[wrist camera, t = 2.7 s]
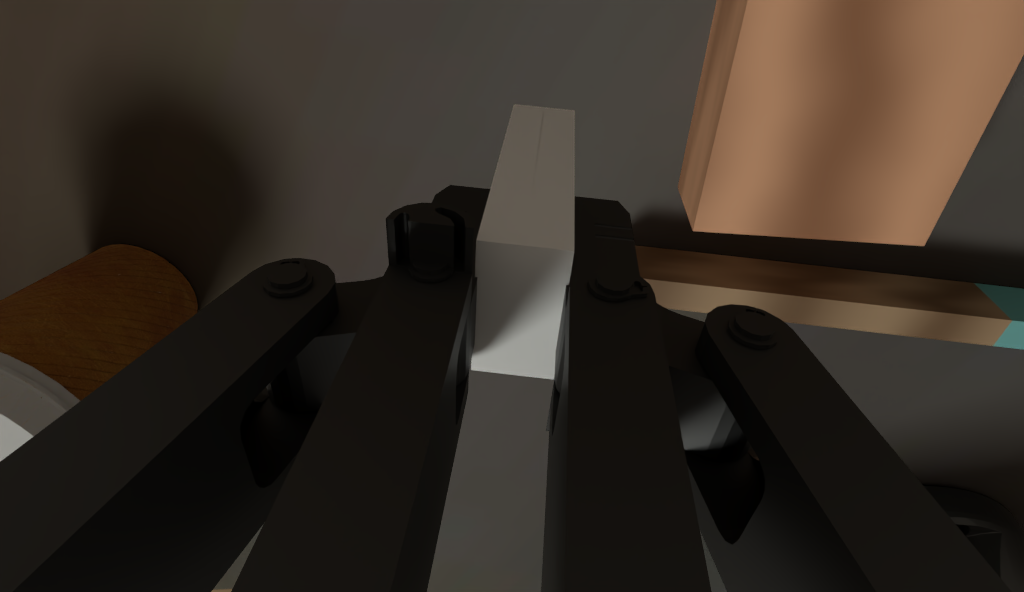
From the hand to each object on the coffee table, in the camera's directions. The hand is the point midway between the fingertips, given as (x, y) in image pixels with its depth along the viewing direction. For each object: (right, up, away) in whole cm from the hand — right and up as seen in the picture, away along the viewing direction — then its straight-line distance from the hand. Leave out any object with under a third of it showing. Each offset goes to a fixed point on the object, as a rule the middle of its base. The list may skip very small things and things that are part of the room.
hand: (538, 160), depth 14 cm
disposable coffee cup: (-22, -3, +19) cm, 29 cm away
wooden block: (+12, +5, +9) cm, 16 cm away
